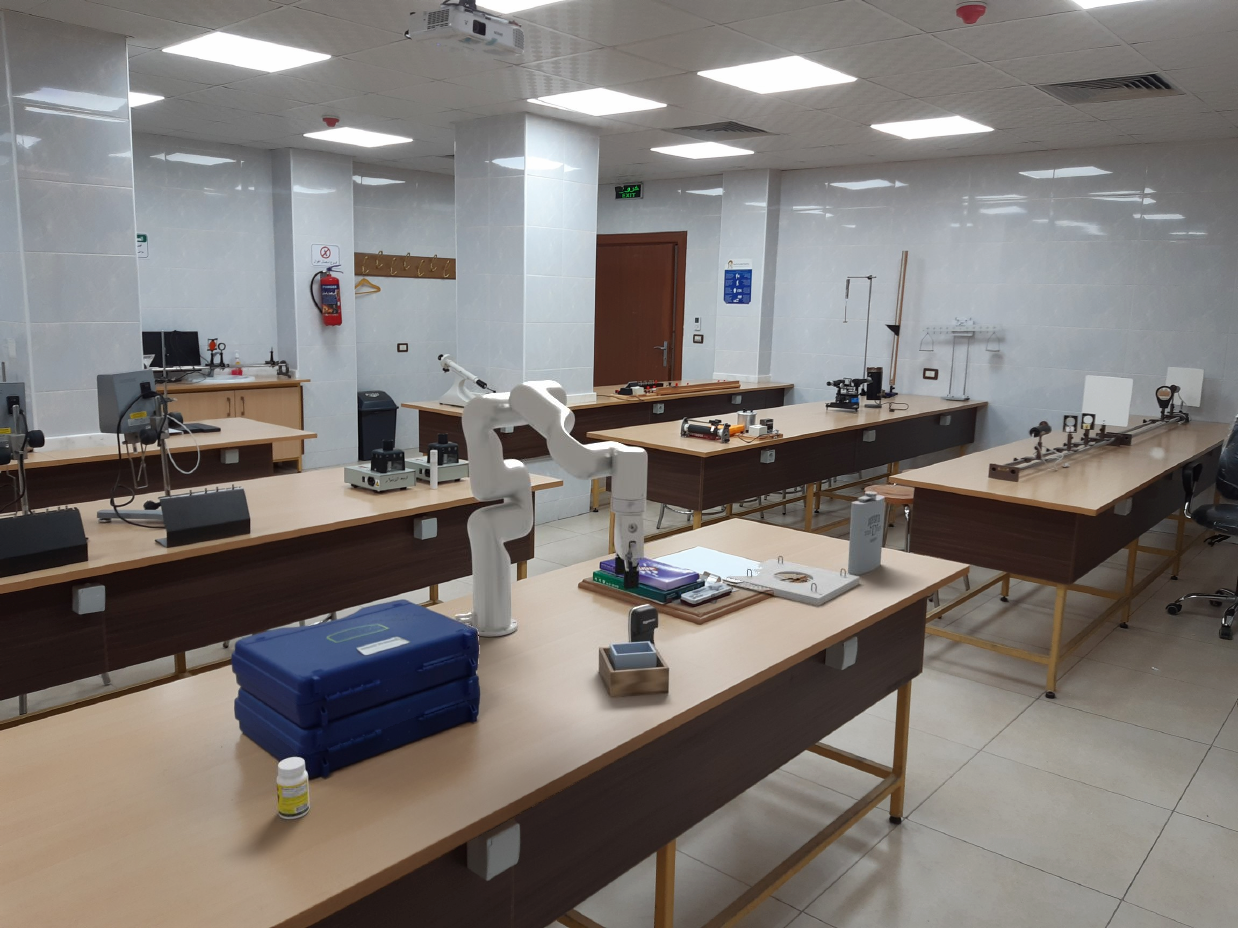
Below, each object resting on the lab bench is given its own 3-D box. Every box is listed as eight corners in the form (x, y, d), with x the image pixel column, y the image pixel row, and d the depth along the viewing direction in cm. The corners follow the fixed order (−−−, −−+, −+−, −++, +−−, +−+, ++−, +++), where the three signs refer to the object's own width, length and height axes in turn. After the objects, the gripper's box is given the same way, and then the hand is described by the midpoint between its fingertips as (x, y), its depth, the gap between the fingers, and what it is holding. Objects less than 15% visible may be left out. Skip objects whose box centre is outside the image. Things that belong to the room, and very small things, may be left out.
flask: (859, 575, 267) (864, 496, 263) (846, 572, 270) (850, 494, 266) (884, 564, 280) (889, 488, 276) (871, 561, 283) (876, 486, 279)
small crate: (615, 686, 184) (615, 655, 183) (609, 674, 190) (609, 643, 189) (656, 683, 186) (656, 652, 185) (649, 671, 192) (649, 641, 191)
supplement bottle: (283, 803, 140) (280, 755, 138) (313, 802, 140) (310, 754, 139) (274, 820, 135) (271, 771, 134) (305, 819, 135) (302, 770, 134)
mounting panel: (819, 590, 238) (726, 569, 257) (818, 607, 239) (726, 585, 258) (860, 569, 259) (772, 551, 277) (859, 585, 259) (771, 566, 278)
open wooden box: (610, 697, 180) (610, 672, 179) (598, 670, 194) (598, 647, 193) (668, 692, 183) (669, 667, 182) (652, 666, 196) (653, 643, 195)
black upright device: (637, 659, 200) (637, 612, 198) (627, 654, 203) (627, 607, 201) (660, 652, 204) (661, 606, 202) (649, 647, 207) (650, 602, 205)
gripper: (654, 514, 177) (652, 593, 180) (637, 495, 194) (634, 568, 197) (619, 514, 176) (616, 594, 179) (604, 496, 192) (602, 569, 195)
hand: (626, 581), depth 188 cm, fingers open, 9 cm apart
